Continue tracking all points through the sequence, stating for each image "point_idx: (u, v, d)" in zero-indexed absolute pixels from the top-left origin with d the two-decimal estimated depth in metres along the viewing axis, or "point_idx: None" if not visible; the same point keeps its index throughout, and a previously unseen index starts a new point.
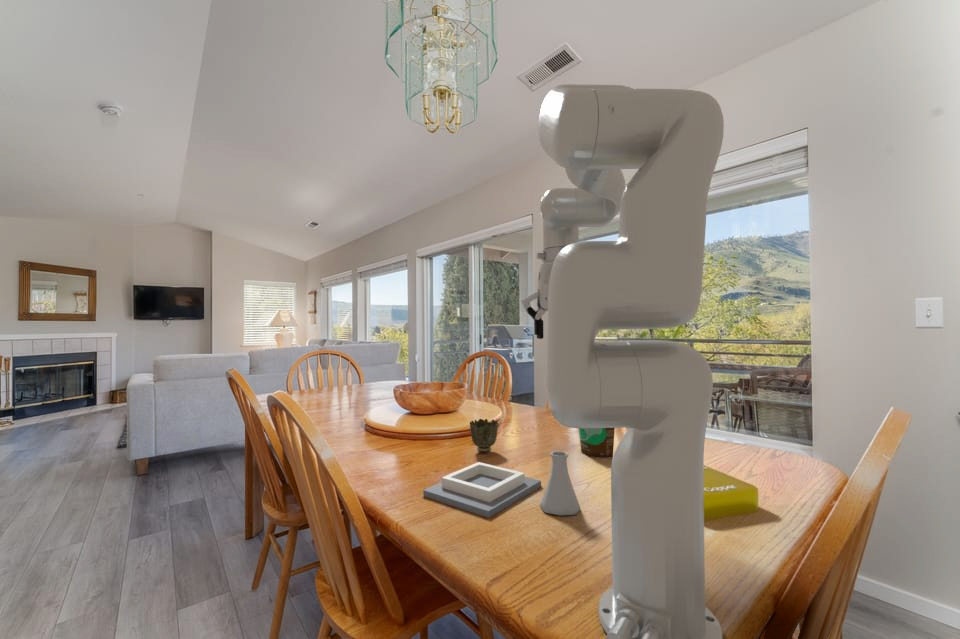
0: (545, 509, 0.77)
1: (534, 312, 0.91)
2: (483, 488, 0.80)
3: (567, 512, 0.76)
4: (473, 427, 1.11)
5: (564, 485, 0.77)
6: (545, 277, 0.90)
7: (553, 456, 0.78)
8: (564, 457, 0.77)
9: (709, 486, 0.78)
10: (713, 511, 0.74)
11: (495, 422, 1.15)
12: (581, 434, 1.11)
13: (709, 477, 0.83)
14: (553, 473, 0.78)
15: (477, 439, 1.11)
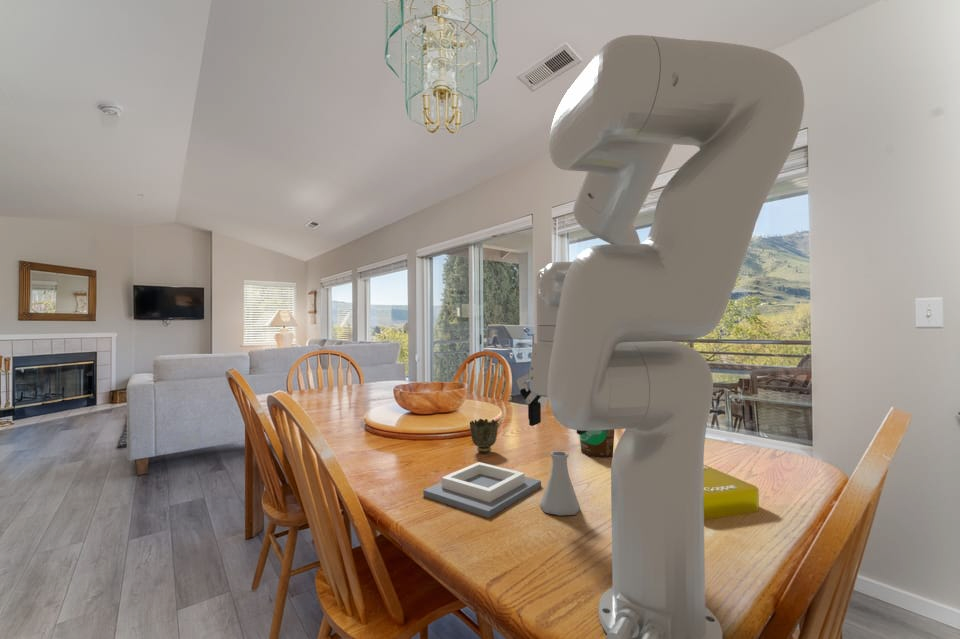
0: (545, 509, 0.77)
1: None
2: (483, 488, 0.80)
3: (567, 512, 0.76)
4: (473, 427, 1.11)
5: (564, 485, 0.77)
6: None
7: (553, 456, 0.78)
8: (564, 457, 0.77)
9: (709, 486, 0.78)
10: (712, 511, 0.74)
11: (495, 422, 1.15)
12: None
13: (710, 477, 0.83)
14: (553, 473, 0.78)
15: (477, 439, 1.11)
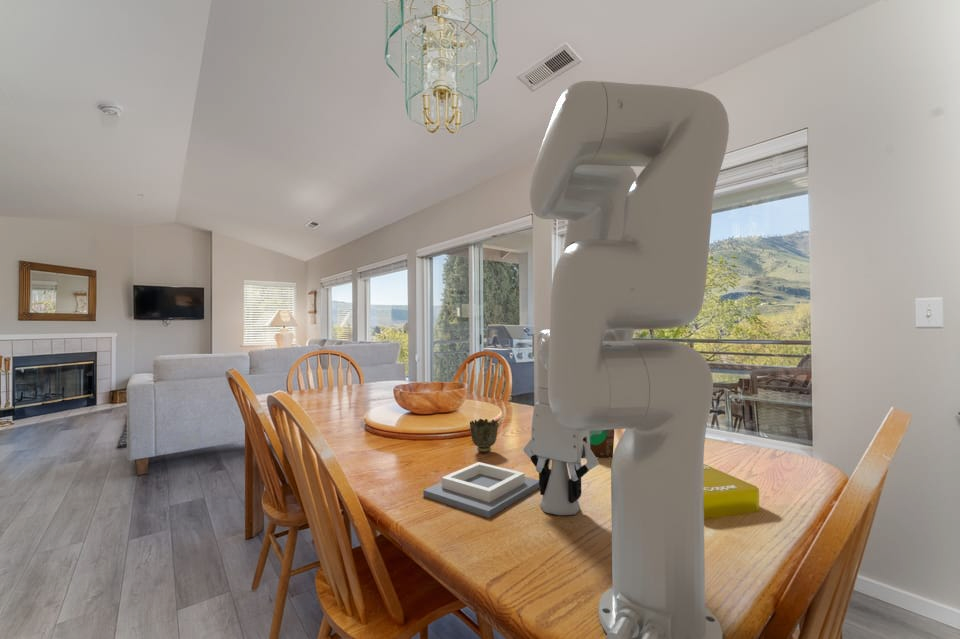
0: (545, 509, 0.77)
1: None
2: (483, 488, 0.80)
3: (567, 512, 0.76)
4: (473, 427, 1.11)
5: (564, 485, 0.77)
6: None
7: None
8: None
9: (709, 486, 0.78)
10: (712, 510, 0.74)
11: (495, 422, 1.15)
12: None
13: (711, 477, 0.83)
14: (553, 473, 0.78)
15: (477, 439, 1.11)
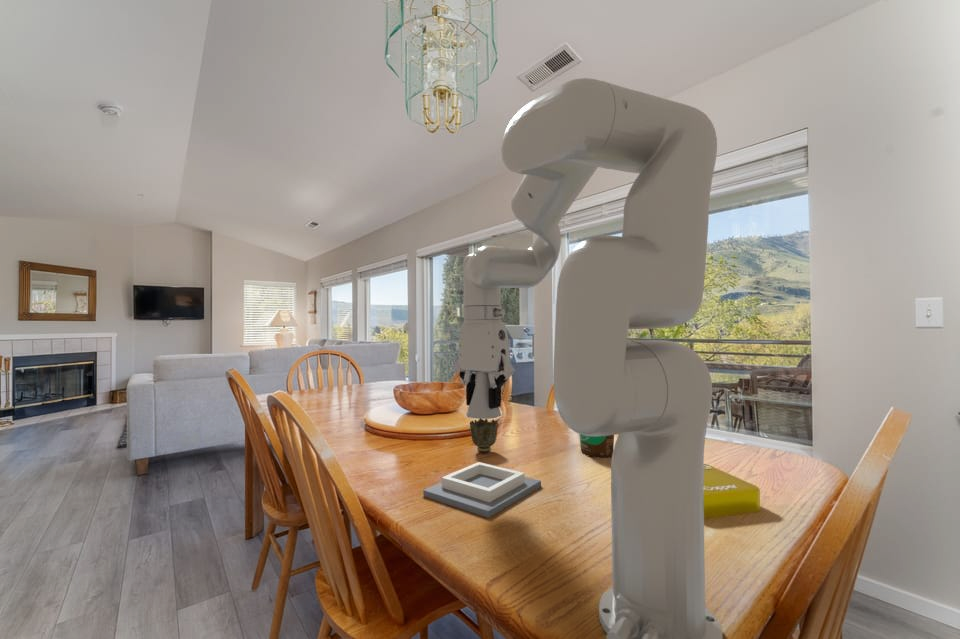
0: (468, 415, 0.85)
1: None
2: (483, 488, 0.80)
3: (487, 416, 0.84)
4: (473, 427, 1.11)
5: (485, 393, 0.85)
6: None
7: None
8: None
9: (709, 485, 0.78)
10: (711, 510, 0.74)
11: (495, 422, 1.15)
12: (581, 434, 1.11)
13: (712, 476, 0.83)
14: (477, 383, 0.86)
15: (477, 439, 1.11)
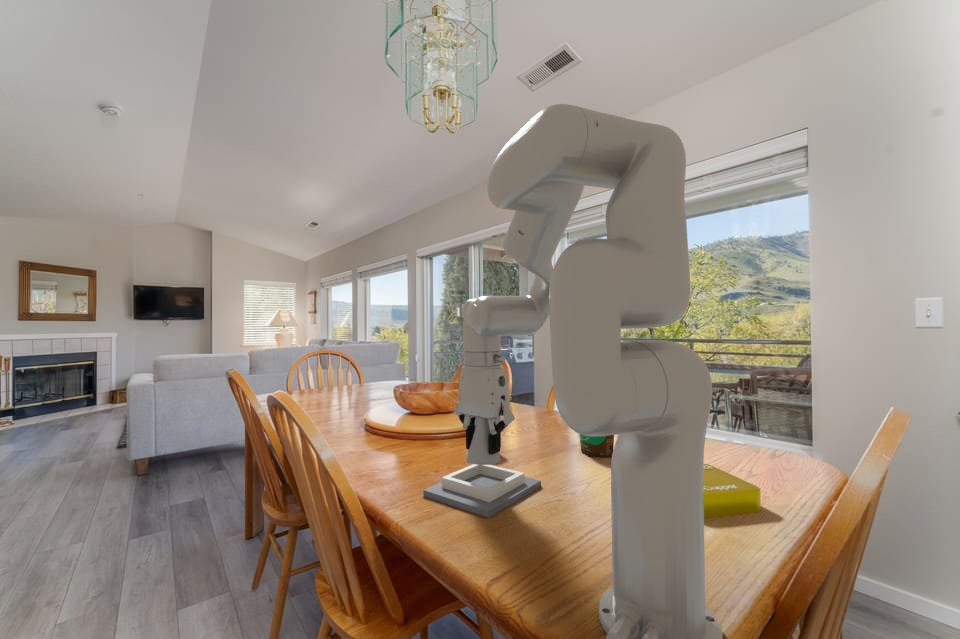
0: (468, 460, 0.85)
1: None
2: (483, 488, 0.80)
3: (487, 462, 0.84)
4: None
5: (485, 438, 0.85)
6: None
7: None
8: None
9: (709, 485, 0.78)
10: (711, 509, 0.74)
11: (495, 422, 1.15)
12: (581, 434, 1.11)
13: (713, 476, 0.83)
14: (476, 428, 0.86)
15: None
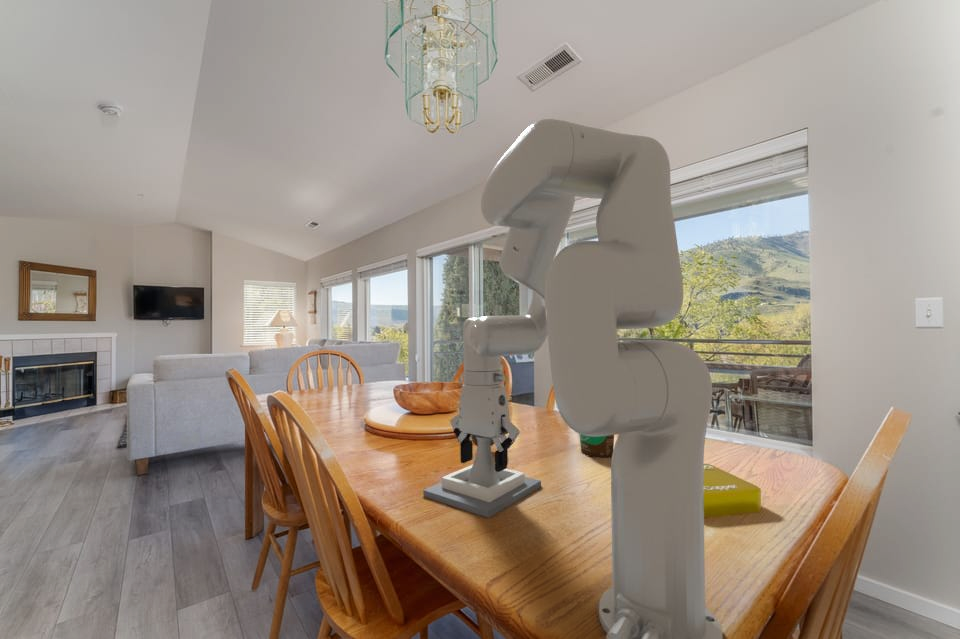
0: None
1: None
2: (483, 488, 0.80)
3: None
4: None
5: (486, 464, 0.85)
6: None
7: (477, 438, 0.86)
8: (487, 439, 0.86)
9: (710, 485, 0.79)
10: (710, 509, 0.75)
11: None
12: (581, 434, 1.11)
13: (713, 476, 0.83)
14: (477, 453, 0.86)
15: None
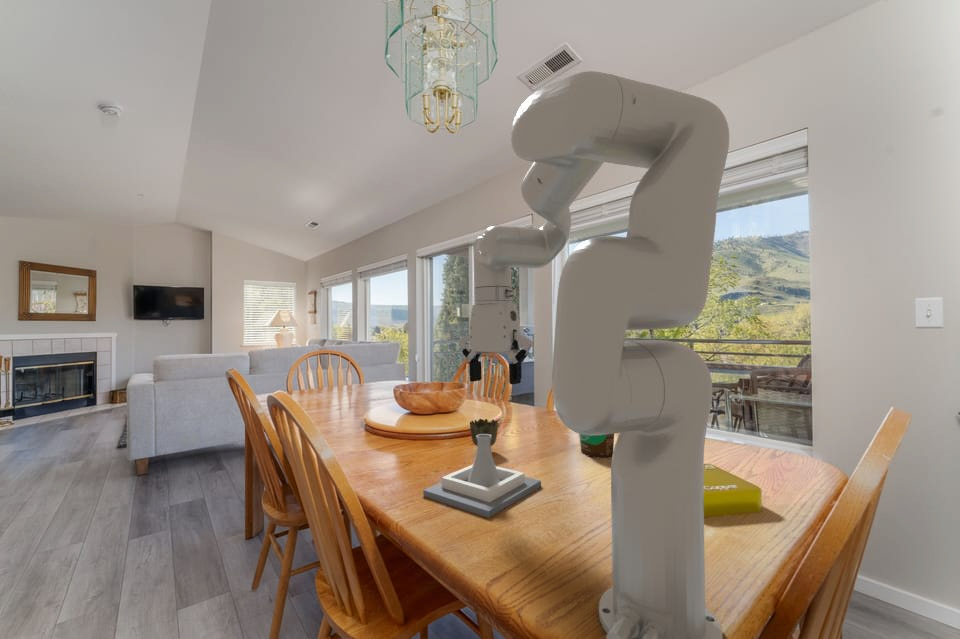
0: None
1: None
2: (483, 488, 0.80)
3: None
4: (473, 427, 1.11)
5: (486, 464, 0.85)
6: None
7: (477, 438, 0.86)
8: (487, 439, 0.86)
9: (710, 485, 0.79)
10: (710, 509, 0.75)
11: (495, 422, 1.15)
12: (581, 434, 1.11)
13: (714, 476, 0.83)
14: (477, 453, 0.86)
15: None
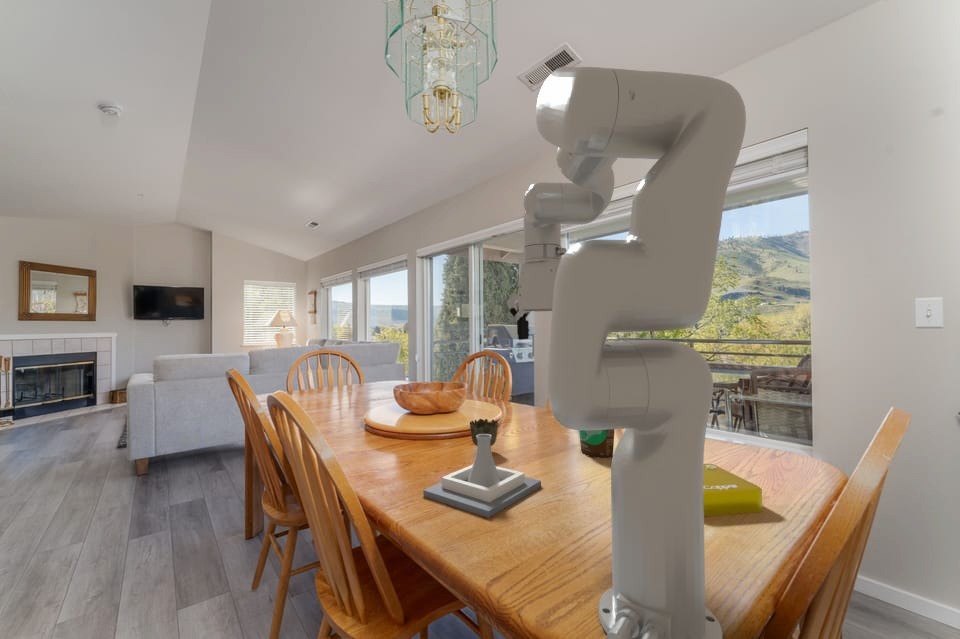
0: None
1: None
2: (483, 488, 0.80)
3: None
4: (473, 427, 1.11)
5: (486, 464, 0.85)
6: None
7: (477, 438, 0.86)
8: (487, 439, 0.86)
9: (710, 484, 0.79)
10: (709, 508, 0.75)
11: (495, 422, 1.15)
12: (581, 434, 1.11)
13: (715, 476, 0.83)
14: (477, 453, 0.86)
15: None
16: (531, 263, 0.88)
